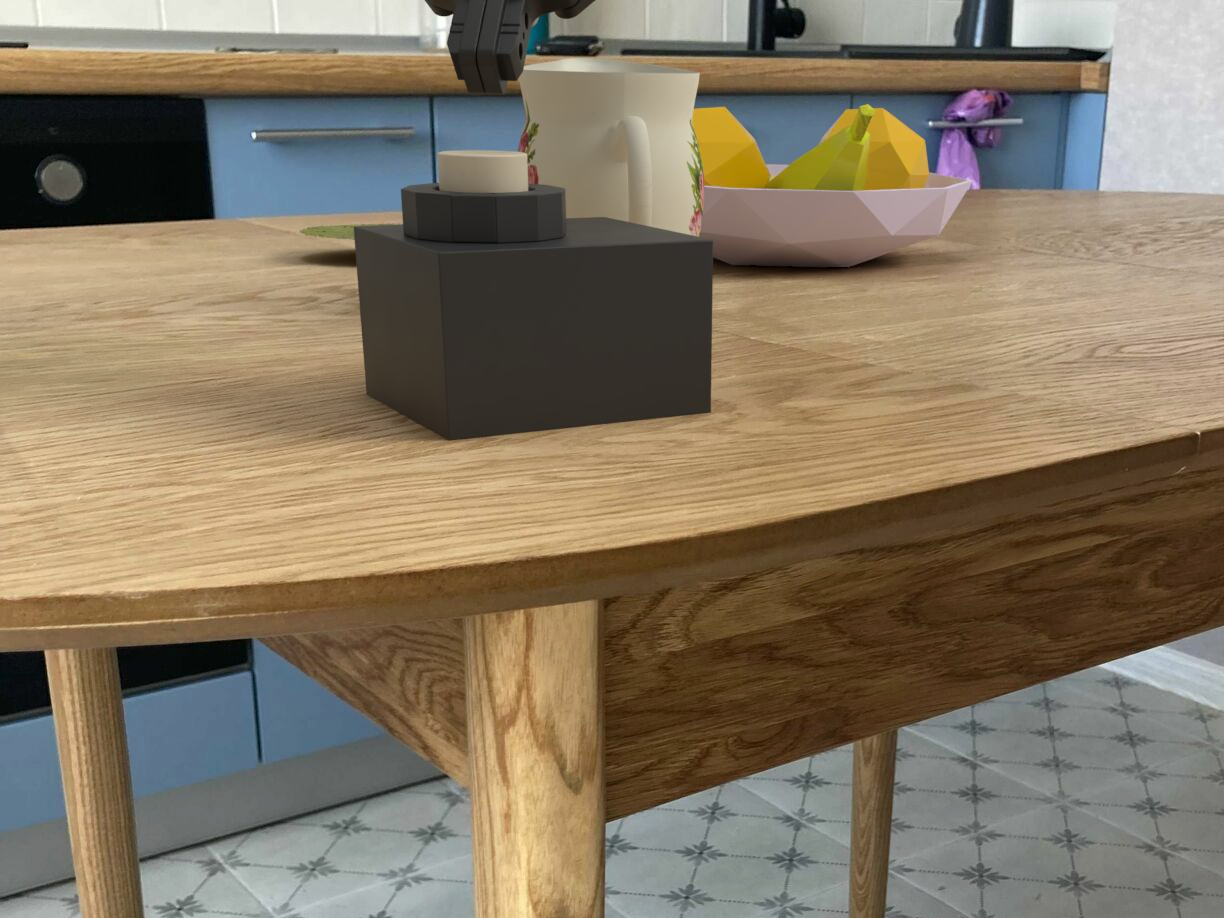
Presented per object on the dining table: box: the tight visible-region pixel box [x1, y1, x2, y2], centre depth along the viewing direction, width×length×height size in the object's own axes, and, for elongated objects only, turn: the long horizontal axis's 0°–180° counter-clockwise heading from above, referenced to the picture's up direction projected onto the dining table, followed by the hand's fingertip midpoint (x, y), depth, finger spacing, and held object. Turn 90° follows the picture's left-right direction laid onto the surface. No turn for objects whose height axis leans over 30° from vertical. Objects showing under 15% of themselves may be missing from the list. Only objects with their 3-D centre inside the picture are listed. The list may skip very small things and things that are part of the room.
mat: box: [299, 223, 401, 241], centre depth 113 cm, size 11×11×2 cm
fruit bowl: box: [692, 103, 974, 268], centre depth 115 cm, size 28×27×11 cm
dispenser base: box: [354, 182, 714, 442], centre depth 66 cm, size 12×10×9 cm
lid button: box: [437, 149, 528, 193], centre depth 63 cm, size 4×4×2 cm
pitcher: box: [517, 57, 704, 237], centre depth 89 cm, size 11×18×14 cm, turn 14°
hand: (481, 78), depth 62 cm, fingers closed
